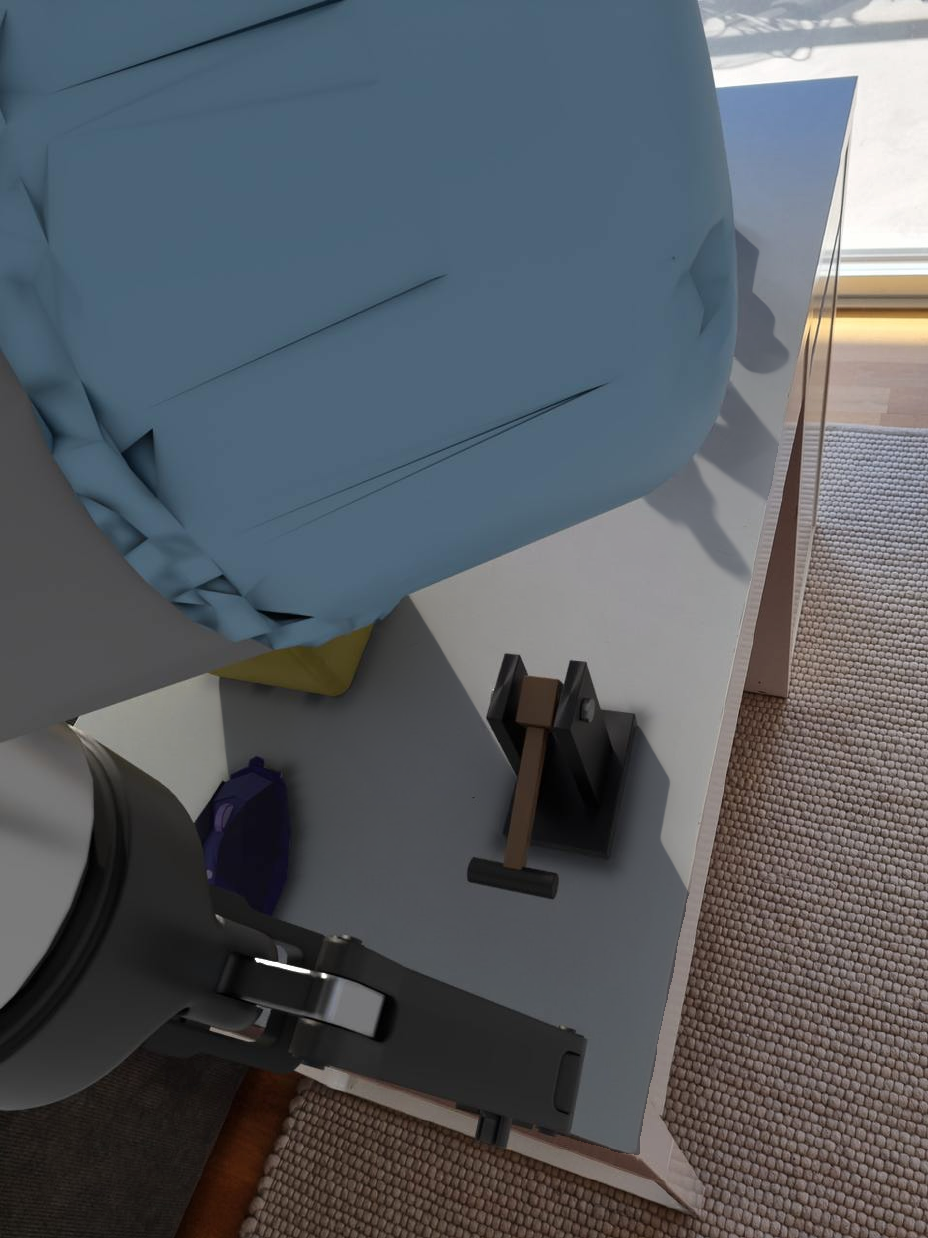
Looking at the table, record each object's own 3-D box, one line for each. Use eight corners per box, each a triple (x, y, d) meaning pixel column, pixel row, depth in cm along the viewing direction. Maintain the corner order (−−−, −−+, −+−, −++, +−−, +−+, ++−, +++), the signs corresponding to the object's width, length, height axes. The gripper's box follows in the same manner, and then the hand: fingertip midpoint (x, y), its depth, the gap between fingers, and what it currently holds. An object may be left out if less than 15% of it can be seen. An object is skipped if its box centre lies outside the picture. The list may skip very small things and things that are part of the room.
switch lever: (558, 900, 53) (547, 899, 51) (475, 883, 55) (462, 881, 52) (591, 690, 56) (582, 681, 53) (511, 681, 57) (500, 671, 55)
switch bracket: (609, 860, 60) (577, 779, 50) (506, 840, 63) (455, 760, 53) (637, 721, 65) (613, 622, 55) (540, 709, 68) (500, 611, 57)
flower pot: (368, 744, 70) (272, 623, 56) (163, 706, 77) (35, 590, 63) (445, 541, 79) (379, 394, 65) (255, 524, 86) (160, 389, 72)
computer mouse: (145, 961, 65) (113, 945, 62) (204, 763, 73) (178, 740, 69) (266, 970, 62) (239, 955, 59) (313, 764, 70) (292, 740, 67)
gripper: (-528, 944, 21) (66, 1060, 39) (494, 1347, 12) (677, 1263, 29) (-322, 656, 25) (140, 881, 42) (603, 791, 15) (710, 1010, 32)
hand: (360, 1038), depth 36 cm, fingers open, 13 cm apart
